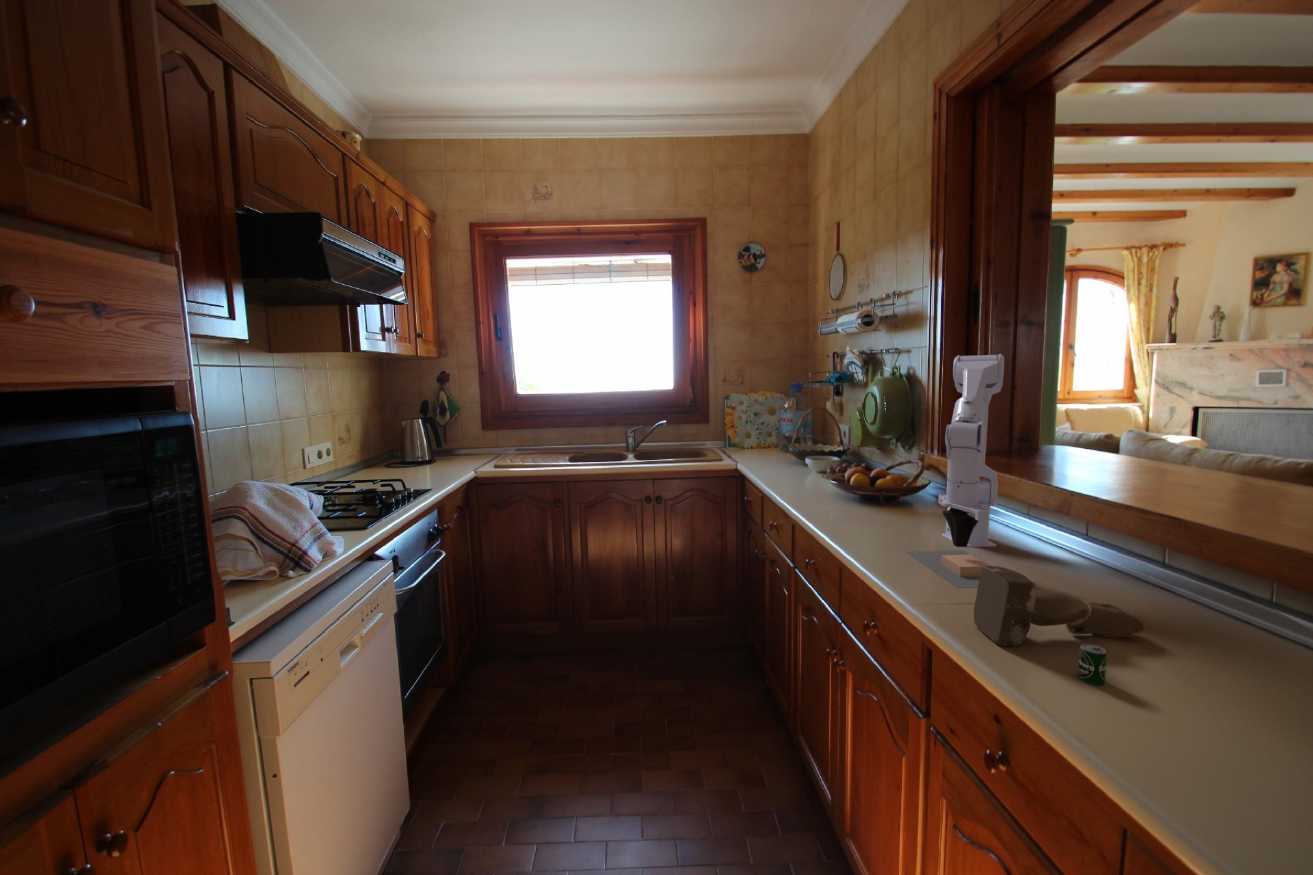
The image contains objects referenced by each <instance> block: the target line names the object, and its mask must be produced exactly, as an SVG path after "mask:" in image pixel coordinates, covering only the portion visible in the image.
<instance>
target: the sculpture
mask: <svg viewBox="0 0 1313 875" xmlns="http://www.w3.org/2000/svg"><path fill="white" fill-rule="evenodd" d="M976 590H977V591H976V596H975V601H974V606H973V621H974V624H975V626H976V627H977V628H978V629H979V630H980V632H981V633H982V634H984V635H985V636H986V637H988V638H989V639H991V641H992V642H994V643H995V644H996V645H998V646H1000V647H1001V646H1002V647H1010V646H1011V648H1015V647H1020V646H1021V645H1022V644H1023V642H1025V640H1026V638H1027V634H1028V633H1029V631H1030V628H1031V625H1034V626H1038V627H1048V626H1050V627H1051V626H1060V625H1066V626H1065V627H1066V629H1067V630H1068V632H1069V633H1071V634H1073V635H1090V634H1091V635H1092V636H1093V637H1094V638H1099V637H1107V638H1114V639H1119V638H1122V637H1130V636H1132V635H1133V634H1138V633H1140V632H1141V633H1142V632H1143V630H1144V623H1142V622H1141V620H1139V618H1137V617H1135V616H1134V615H1133V614H1130V613H1128V612H1126V611H1123V610H1122V609H1121V608H1120V607H1117V606H1115V605H1112V604H1109V603H1104V602H1103V603H1102V602H1101V603H1099V602H1094V601H1093V602H1087V601H1084V600H1082V599H1080V598H1077V597H1076V596H1074V595H1072V594H1069V593H1067V592H1062V591H1054V590H1045V589H1042V590H1041V589H1037V586H1036V584H1035V582H1033V581H1031V580H1030V579H1029V578H1028V577H1027V576H1026V575H1024V574H1022V573H1020V572H1018V571H1016V570H1013V569H1010V568H1006V567H1003V566H997V565H996V566H995V565H994V566H993V565H990V566H984V567H982V570H981V573H980V579H979V583H978V587H977V589H976Z"/></svg>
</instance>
